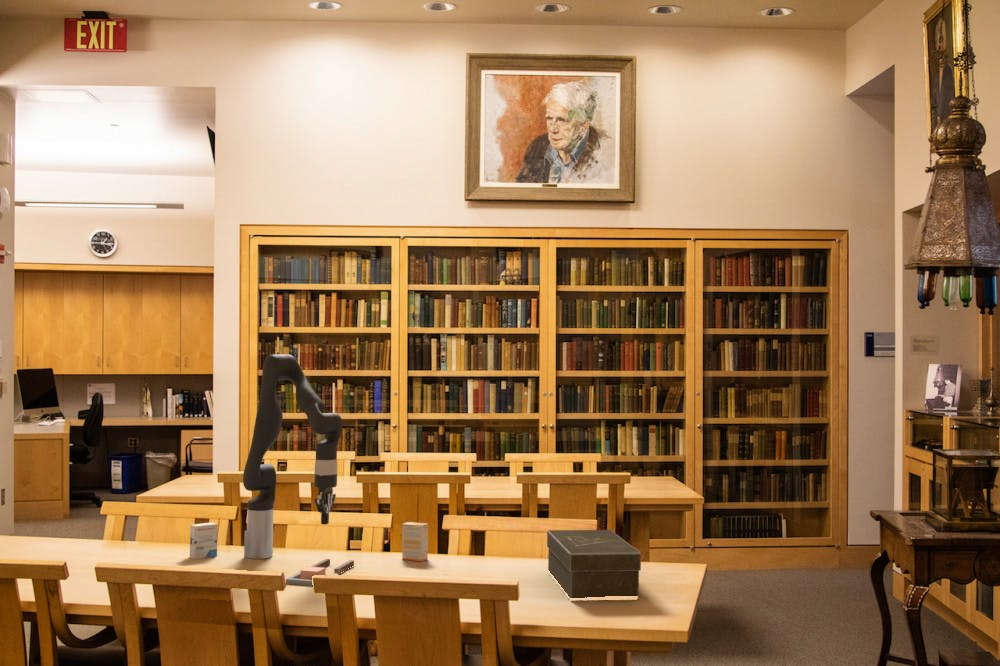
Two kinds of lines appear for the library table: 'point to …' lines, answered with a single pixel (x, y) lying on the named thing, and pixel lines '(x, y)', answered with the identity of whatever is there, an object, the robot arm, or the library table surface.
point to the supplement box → (415, 541)
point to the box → (593, 563)
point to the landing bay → (299, 580)
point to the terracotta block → (311, 572)
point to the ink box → (203, 540)
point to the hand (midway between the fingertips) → (324, 524)
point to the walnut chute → (338, 569)
